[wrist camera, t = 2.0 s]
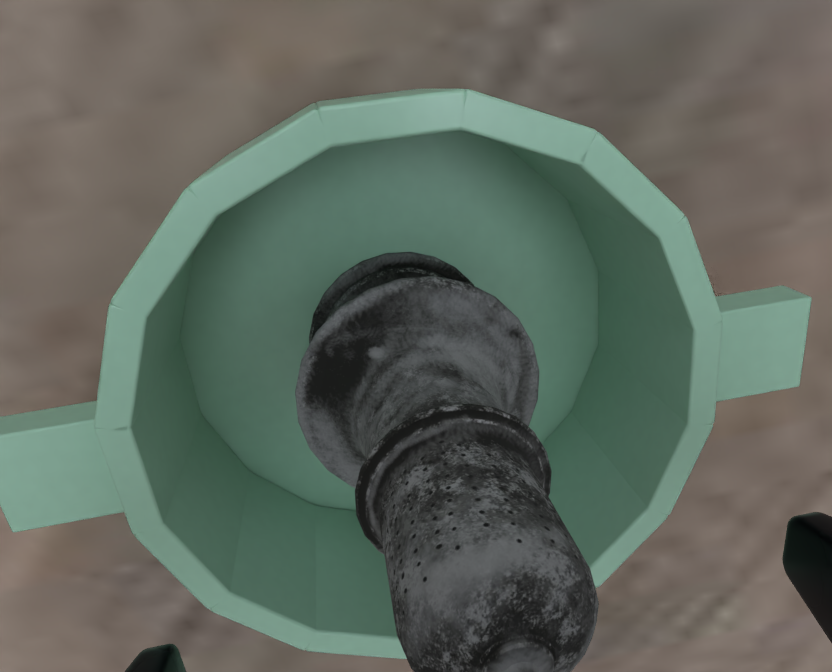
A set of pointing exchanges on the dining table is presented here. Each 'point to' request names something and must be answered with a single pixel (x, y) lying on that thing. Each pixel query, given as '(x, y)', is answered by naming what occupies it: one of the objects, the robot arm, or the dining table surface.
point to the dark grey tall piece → (446, 466)
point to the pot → (289, 339)
